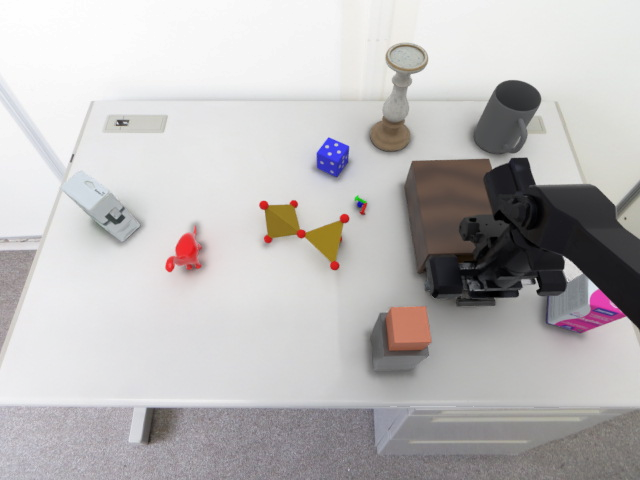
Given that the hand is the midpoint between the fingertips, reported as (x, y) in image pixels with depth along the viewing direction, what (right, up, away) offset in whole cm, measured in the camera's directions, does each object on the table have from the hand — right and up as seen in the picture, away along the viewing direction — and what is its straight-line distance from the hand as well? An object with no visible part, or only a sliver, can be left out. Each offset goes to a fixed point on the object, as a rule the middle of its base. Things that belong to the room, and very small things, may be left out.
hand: (473, 294), depth 62 cm
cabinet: (0, +12, +12) cm, 17 cm away
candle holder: (-10, +32, +23) cm, 40 cm away
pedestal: (-14, -10, +1) cm, 17 cm away
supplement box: (+17, -4, +3) cm, 18 cm away
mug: (+14, +29, +21) cm, 39 cm away
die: (-23, +25, +19) cm, 39 cm away
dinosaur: (-49, +5, +9) cm, 50 cm away
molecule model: (-27, +11, +12) cm, 31 cm away
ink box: (-65, +12, +13) cm, 68 cm away
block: (-14, -4, -10) cm, 18 cm away
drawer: (0, +6, +8) cm, 10 cm away
